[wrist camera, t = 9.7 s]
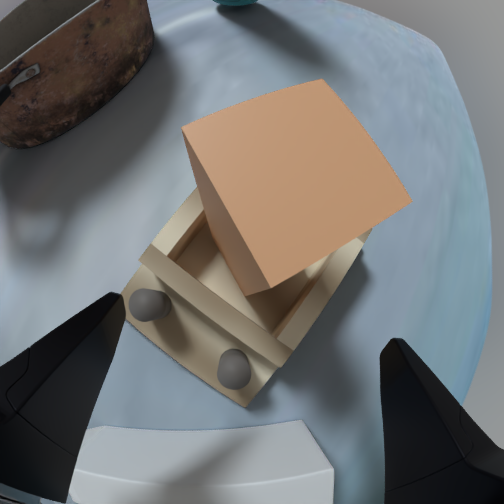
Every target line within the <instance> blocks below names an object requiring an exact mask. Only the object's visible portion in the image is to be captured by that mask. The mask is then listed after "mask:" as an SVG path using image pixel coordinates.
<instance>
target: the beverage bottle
mask: <svg viewBox="0 0 504 504" xmlns="http://www.w3.org/2000/svg"><path fill="white" fill-rule="evenodd" d="M213 1H214V2H216V3H219V4H223V5H247V4H252V3H254V2H256V1H257V0H213Z"/></svg>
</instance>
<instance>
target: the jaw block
mask: <svg viewBox="0 0 504 504" xmlns="http://www.w3.org/2000/svg"><path fill="white" fill-rule="evenodd" d="M181 129H182V133H183V137H184V141H185V144H186V148H187V152H188V155H189V159H190V162H191V166H192V170H193V173H194V177H195V180H196V184H197V187H198V191H199V194H200V198H201V201H202V204H203V208H204V211H205V214H206V218H207V221H208V224H209V228H210V231H211V234H212V238H213V240H214V242H215V243H216V245H217V247H218V249H219V251H220V253H221V255H222V256H223V258H224V260H225V262H226V264H227V266H228V267H229V269H230V271H231V273H232V275H233V277H234V278H235V280H236V282H237V284H238V286H239V287H240V289H241V291H242V293H243V295H244V296H247V295H251V294H254V293H257V292H260V291H264V290H267V289H270V288H272V287H274V286H276V285H278V284H279V283H281V282H283V281H284V280H286V279H288V278H290V277H291V276H293V275H295V274H297V273H298V272H300V271H302V270H303V269H305V268H307V267H309V266H310V265H312V264H314V263H315V262H317V261H319V260H320V259H322V258H324V257H325V256H327V255H329V254H330V253H332V252H334V251H335V250H337V249H339V248H340V247H342V246H343V245H345V244H347V243H348V242H350V241H352V240H353V239H355V238H356V237H358V236H360V235H361V234H363V233H364V232H366V231H368V230H369V229H371V228H372V227H374V226H376V225H377V224H379V223H380V222H382V221H383V220H385V219H387V218H388V217H390V216H391V215H393V214H394V213H396V212H397V211H399V210H400V209H402V208H403V207H405V206H407V205H408V204H410V203H411V202H413V201H412V199H411V198H410V196H409V194H408V193H407V191H406V189H405V188H404V186H403V184H402V183H401V181H400V179H399V178H398V176H397V175H396V173H395V172H394V170H393V168H392V167H391V165H390V164H389V162H388V161H387V159H386V158H385V157H384V155H383V154H382V152H381V151H380V149H379V148H378V146H377V145H376V144H375V142H374V141H373V139H372V138H371V137H370V135H369V134H368V133H367V131H366V130H365V129H364V127H363V126H362V125H361V124H360V122H359V121H358V120H357V118H356V117H355V116H354V115H353V113H352V112H351V111H350V110H349V109H348V107H347V106H346V105H345V104H344V103H343V101H342V100H341V99H340V98H339V97H338V96H337V94H336V93H335V92H334V91H333V90H332V89H331V88H330V86H329V85H328V84H327V83H326V82H325V81H324V80H323V79H318V80H314V81H310V82H306V83H302V84H299V85H295V86H291V87H288V88H284V89H281V90H278V91H274V92H271V93H268V94H265V95H262V96H259V97H256V98H253V99H250V100H247V101H244V102H242V103H239V104H236V105H233V106H231V107H228V108H225V109H223V110H220V111H218V112H215V113H213V114H210V115H208V116H206V117H203V118H201V119H198V120H196V121H194V122H192V123H189V124H187V125H185V126H183V127H181Z"/></svg>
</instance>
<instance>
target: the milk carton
mask: <svg viewBox="0 0 504 504" xmlns="http://www.w3.org/2000/svg"><path fill="white" fill-rule="evenodd" d="M69 493H70V495H71V497H72V499H73V501H74V502H76V503H79V504H333V493H334V469H333V467H332V465H331V464H330V462H329V461H328V459H327V458H326V456H325V455H324V453H323V451H322V450H321V448H320V447H319V445H318V444H317V442H316V441H315V439H314V438H313V436H312V434H311V433H310V431H309V430H308V428H307V427H306V425H305V423H304V422H303V420H296V421H290V422H284V423H278V424H271V425H263V426H255V427H246V428H235V429H221V430H197V431H169V430H146V429H132V428H122V427H112V426H100V427H96V428H92V429H87V430H86V432H85V435H84V438H83V442H82V445H81V448H80V451H79V455H78V458H77V462H76V465H75V469H74V473H73V476H72V480H71V484H70V488H69Z"/></svg>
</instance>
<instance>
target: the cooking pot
mask: <svg viewBox="0 0 504 504" xmlns="http://www.w3.org/2000/svg"><path fill="white" fill-rule="evenodd" d="M153 42H154V31H153V26H152V22H151V17H150V13H149V8H148V4H147V0H25V1H23V2H22V3H21V4H19V5H18V6H17V7H16V8H14V9H13V10H12V11H11V12H9V13H8V14H7V15H6V16H5V17H4V18H3V19H2V20H1V21H0V141H1V142H2V143H4V144H5V145H7V146H8V147H11V148H17V149H20V148H28V147H32V146H35V145H38V144H41V143H44V142H47V141H49V140H51V139H53V138H55V137H57V136H59V135H61V134H63V133H65V132H66V131H68V130H69V129H71V128H73V127H74V126H76V125H78V124H79V123H81V122H82V121H83V120H85V119H86V118H88V117H89V116H90V115H92V114H93V113H95V112H96V111H97V110H99V109H100V108H101V107H102V106H103V105H104V104H106V103H107V102H108V101H109V100H111V99H112V98H113V97H114V96H115V95H116V94H117V93H118V92H119V91H120V90H121V89H122V88H123V87H124V86H125V85H126V84H127V83H128V82H129V81H130V80H131V79H132V78H133V76H134V75H135V74H136V73H137V72H138V71H139V69H140V68H141V66H142V65H143V63H144V62H145V60H146V59H147V57H148V56H149V53H150V51H151V49H152V46H153Z"/></svg>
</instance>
